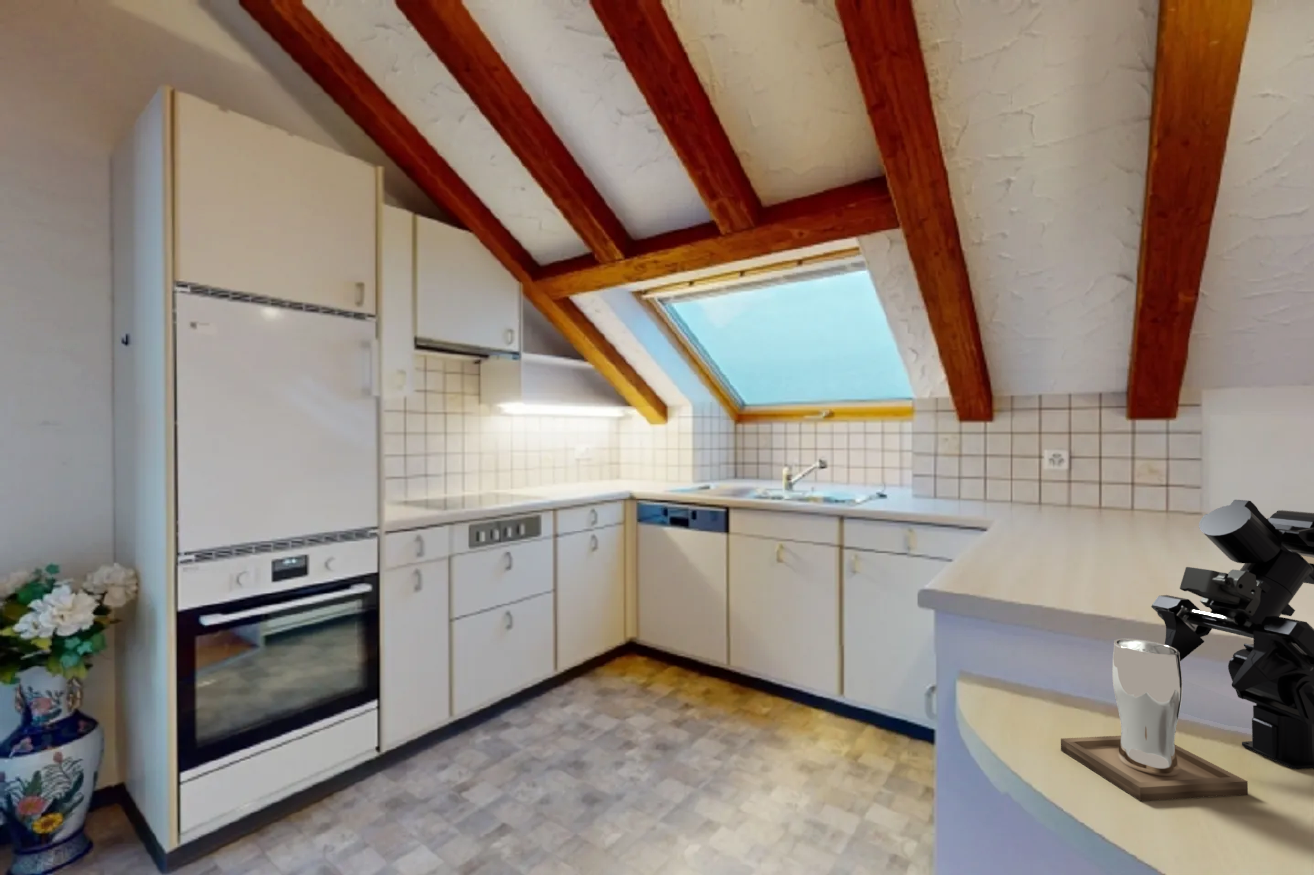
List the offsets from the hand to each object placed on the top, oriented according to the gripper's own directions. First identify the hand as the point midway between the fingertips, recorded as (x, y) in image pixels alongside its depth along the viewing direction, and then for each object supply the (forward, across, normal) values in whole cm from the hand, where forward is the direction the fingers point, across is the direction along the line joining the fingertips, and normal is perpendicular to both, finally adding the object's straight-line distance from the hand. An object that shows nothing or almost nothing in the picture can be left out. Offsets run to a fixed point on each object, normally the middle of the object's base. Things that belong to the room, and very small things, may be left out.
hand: (1198, 676), depth 78 cm
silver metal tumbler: (+13, 0, +1) cm, 13 cm away
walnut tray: (+14, 0, +2) cm, 14 cm away
